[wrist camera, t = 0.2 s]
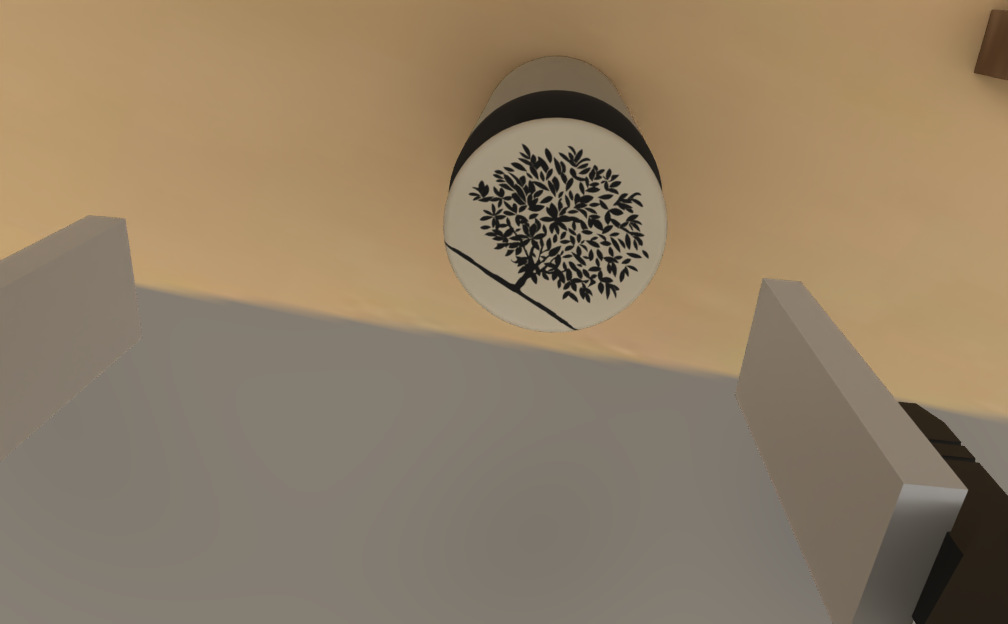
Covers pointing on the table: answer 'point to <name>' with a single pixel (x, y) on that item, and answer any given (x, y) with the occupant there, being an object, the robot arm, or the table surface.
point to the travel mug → (555, 201)
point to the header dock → (995, 47)
